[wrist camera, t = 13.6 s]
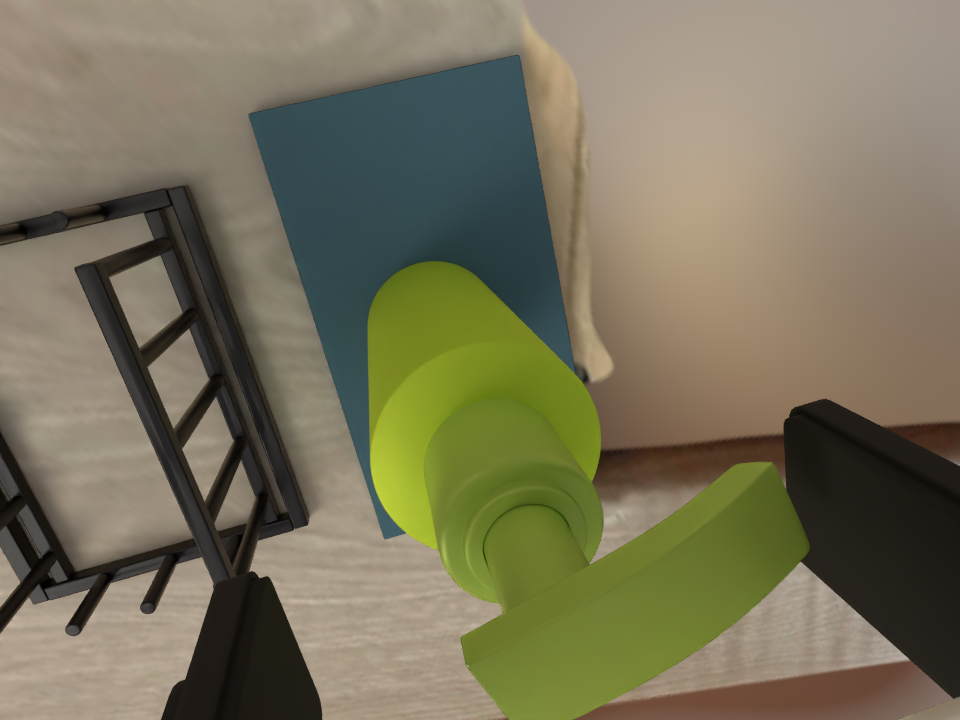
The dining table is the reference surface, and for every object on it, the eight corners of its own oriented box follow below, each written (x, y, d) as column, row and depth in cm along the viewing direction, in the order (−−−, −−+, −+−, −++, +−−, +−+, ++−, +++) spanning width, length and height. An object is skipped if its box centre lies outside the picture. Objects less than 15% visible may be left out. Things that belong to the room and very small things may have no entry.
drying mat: (250, 114, 24) (247, 114, 24) (516, 56, 26) (519, 54, 25) (383, 533, 31) (384, 540, 30) (590, 472, 32) (594, 478, 32)
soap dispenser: (539, 333, 29) (872, 653, 10) (413, 411, 29) (504, 877, 10) (477, 222, 27) (746, 360, 8) (341, 306, 27) (285, 643, 8)
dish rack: (-149, 260, 24) (-384, 304, 16) (188, 183, 25) (113, 191, 17) (41, 595, 29) (-71, 745, 21) (310, 518, 30) (292, 634, 23)
